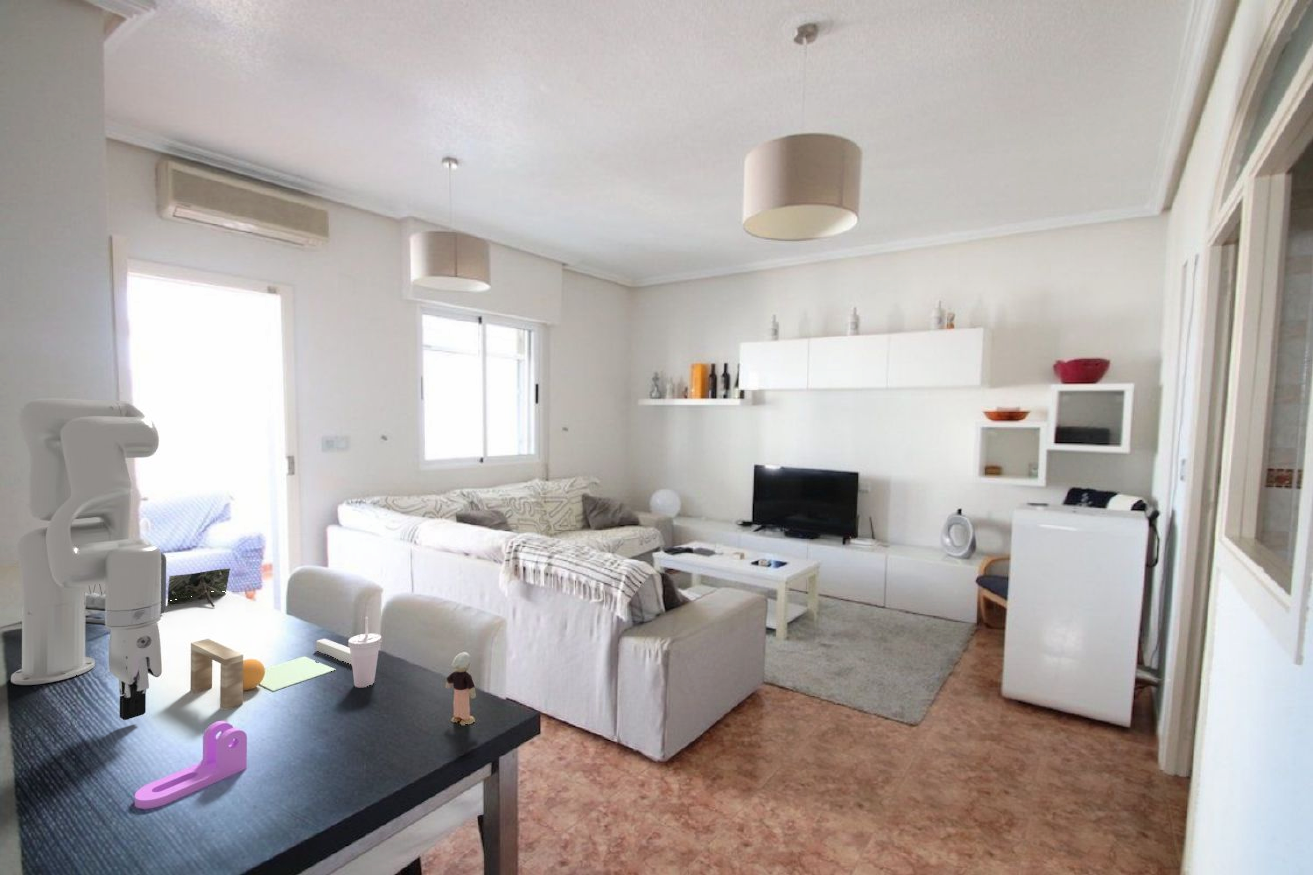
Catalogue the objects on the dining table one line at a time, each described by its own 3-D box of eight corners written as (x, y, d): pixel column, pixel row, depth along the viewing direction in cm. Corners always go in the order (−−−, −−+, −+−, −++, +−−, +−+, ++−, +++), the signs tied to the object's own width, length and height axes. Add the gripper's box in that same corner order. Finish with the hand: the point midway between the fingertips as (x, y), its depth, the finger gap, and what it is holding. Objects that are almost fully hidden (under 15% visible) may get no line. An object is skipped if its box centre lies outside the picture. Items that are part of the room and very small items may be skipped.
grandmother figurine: (484, 718, 112) (485, 652, 112) (471, 728, 108) (473, 659, 108) (450, 711, 114) (451, 646, 114) (437, 720, 111) (438, 653, 111)
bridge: (224, 710, 113) (225, 659, 113) (190, 690, 121) (190, 642, 121) (242, 704, 115) (243, 654, 115) (207, 685, 123) (208, 638, 123)
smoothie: (387, 678, 129) (388, 614, 128) (369, 691, 122) (370, 623, 122) (359, 676, 129) (360, 612, 129) (340, 689, 123) (341, 622, 123)
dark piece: (165, 605, 175) (179, 631, 168) (169, 576, 172) (184, 601, 165) (225, 593, 187) (240, 617, 180) (229, 566, 185) (246, 589, 177)
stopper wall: (316, 651, 143) (316, 640, 143) (324, 648, 144) (324, 638, 144) (354, 666, 134) (355, 655, 134) (363, 663, 136) (363, 652, 136)
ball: (218, 684, 120) (232, 654, 122) (247, 685, 125) (260, 656, 127) (232, 694, 117) (247, 663, 119) (262, 694, 122) (275, 664, 124)
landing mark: (242, 676, 128) (242, 675, 128) (304, 657, 139) (304, 656, 139) (273, 691, 121) (273, 690, 121) (335, 670, 132) (335, 669, 132)
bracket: (229, 759, 97) (229, 716, 97) (246, 769, 94) (247, 726, 94) (128, 801, 86) (128, 753, 86) (144, 814, 83) (144, 765, 83)
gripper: (176, 617, 106) (175, 719, 106) (143, 602, 114) (142, 697, 114) (122, 628, 100) (121, 737, 100) (91, 612, 107) (90, 713, 108)
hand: (132, 715), depth 107 cm, fingers closed
